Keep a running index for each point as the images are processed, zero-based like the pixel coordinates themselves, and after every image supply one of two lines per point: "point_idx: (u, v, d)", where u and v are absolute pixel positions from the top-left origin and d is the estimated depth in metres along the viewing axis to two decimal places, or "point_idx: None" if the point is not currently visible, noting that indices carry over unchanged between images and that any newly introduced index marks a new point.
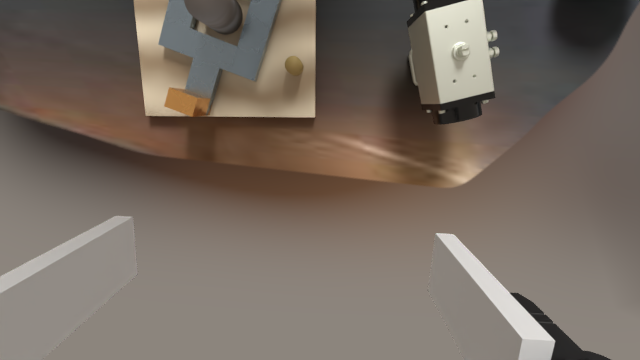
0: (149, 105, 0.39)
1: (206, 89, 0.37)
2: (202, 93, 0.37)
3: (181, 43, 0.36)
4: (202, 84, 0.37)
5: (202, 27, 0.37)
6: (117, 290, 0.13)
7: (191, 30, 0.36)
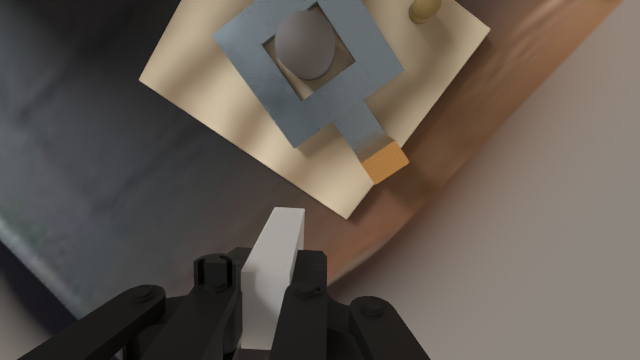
0: (339, 207, 0.31)
1: (373, 132, 0.28)
2: (374, 139, 0.28)
3: (310, 122, 0.28)
4: (365, 132, 0.28)
5: (305, 90, 0.29)
6: None
7: (305, 101, 0.27)
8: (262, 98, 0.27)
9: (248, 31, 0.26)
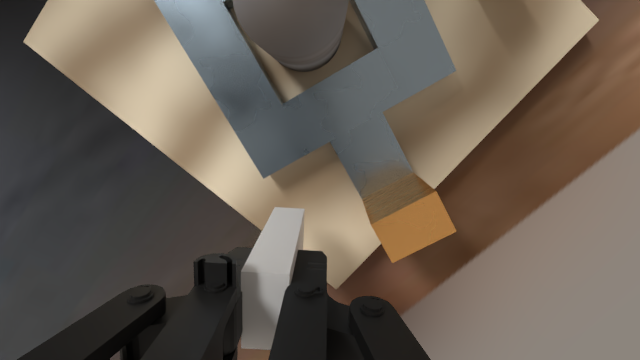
0: (327, 271, 0.20)
1: (393, 165, 0.17)
2: (393, 177, 0.17)
3: (292, 140, 0.17)
4: (381, 164, 0.17)
5: (291, 86, 0.18)
6: None
7: (287, 104, 0.17)
8: (218, 92, 0.17)
9: None
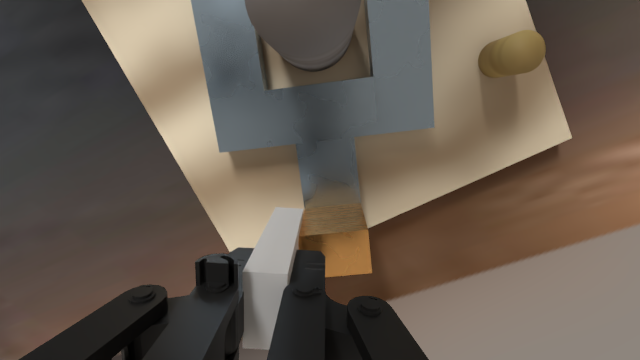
0: None
1: (345, 189, 0.18)
2: (341, 201, 0.18)
3: (261, 128, 0.17)
4: (334, 184, 0.18)
5: (281, 77, 0.18)
6: None
7: (269, 93, 0.17)
8: (207, 53, 0.16)
9: None
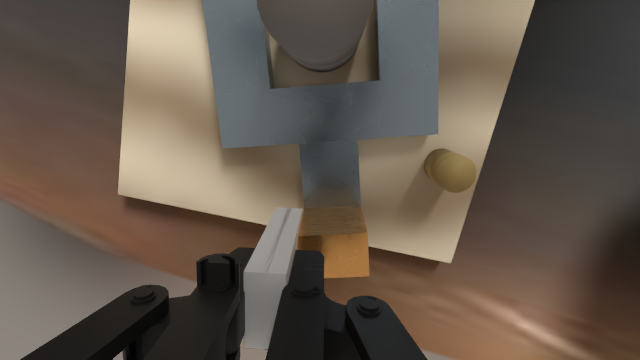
0: (128, 176, 0.19)
1: (346, 192, 0.18)
2: (341, 202, 0.18)
3: (265, 126, 0.17)
4: (335, 186, 0.18)
5: None
6: None
7: (275, 91, 0.17)
8: (215, 48, 0.16)
9: None
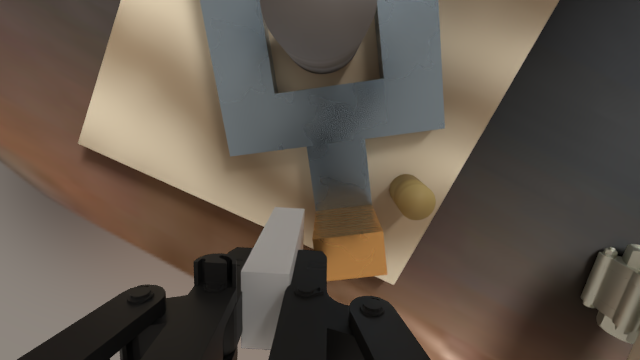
0: (93, 128, 0.19)
1: (356, 191, 0.18)
2: (352, 203, 0.18)
3: (272, 131, 0.17)
4: (345, 186, 0.18)
5: None
6: None
7: (280, 96, 0.17)
8: (217, 57, 0.16)
9: None
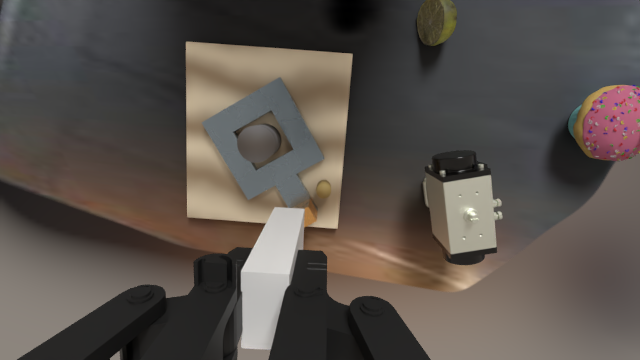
0: (191, 208, 0.44)
1: (301, 195, 0.42)
2: (302, 200, 0.42)
3: (260, 184, 0.42)
4: (296, 195, 0.42)
5: None
6: None
7: (258, 170, 0.42)
8: (230, 165, 0.41)
9: (225, 122, 0.40)
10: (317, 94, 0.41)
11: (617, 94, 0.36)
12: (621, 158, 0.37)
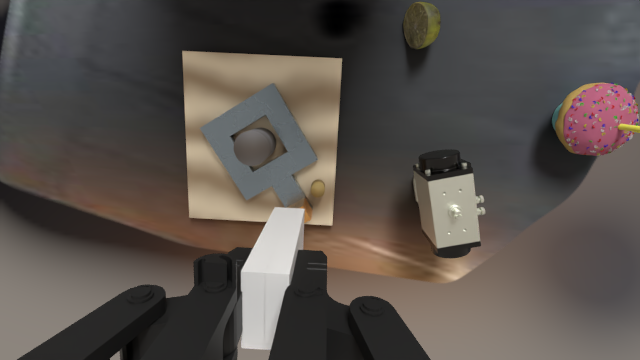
0: (193, 209, 0.46)
1: (297, 194, 0.44)
2: (297, 199, 0.44)
3: (257, 185, 0.44)
4: (292, 194, 0.44)
5: None
6: None
7: (255, 172, 0.44)
8: (228, 167, 0.44)
9: (222, 127, 0.42)
10: (309, 98, 0.43)
11: (595, 92, 0.37)
12: (601, 153, 0.39)
